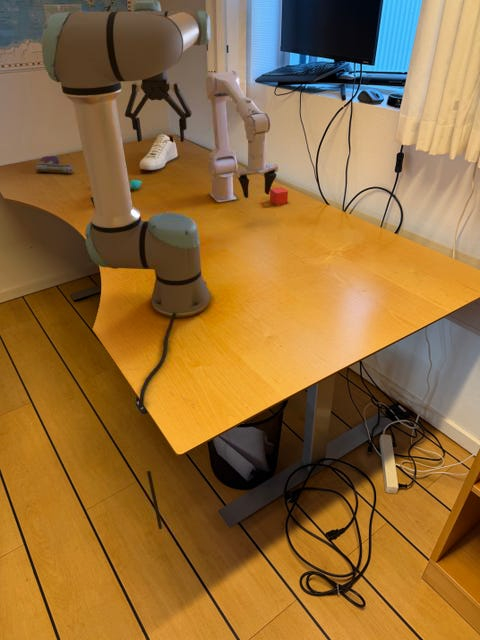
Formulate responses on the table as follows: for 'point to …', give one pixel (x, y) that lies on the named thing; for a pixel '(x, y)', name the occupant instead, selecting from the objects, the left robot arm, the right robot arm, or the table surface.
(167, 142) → the sneaker
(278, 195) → the block
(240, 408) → the table surface
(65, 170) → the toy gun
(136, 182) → the toy gun
